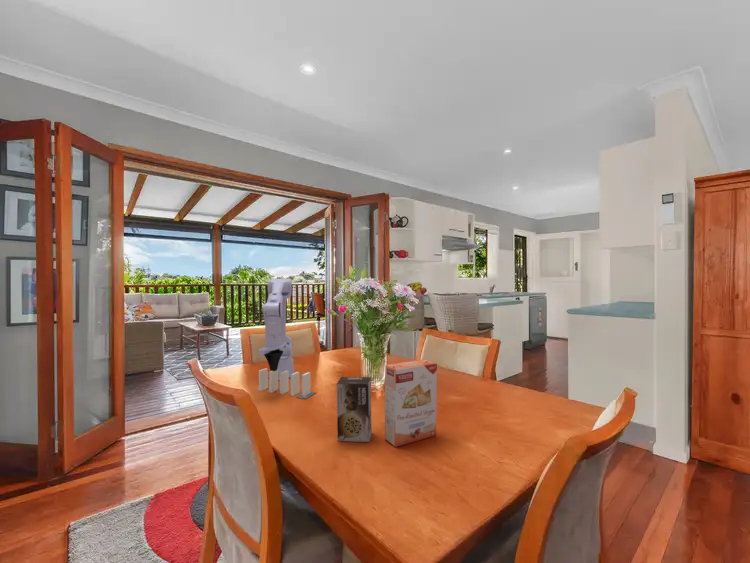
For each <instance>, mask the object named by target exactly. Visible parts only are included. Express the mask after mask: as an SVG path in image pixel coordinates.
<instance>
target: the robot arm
mask: <svg viewBox="0 0 750 563" xmlns="http://www.w3.org/2000/svg"><path fill="white" fill-rule="evenodd" d="M292 288H293V286H292V279H291V278H269V279H268V280H267V292H268V297H267V300H266V303H264V304H263V307H262V308H263V309H262V311H263V312H262V314H263V323H264V327H265V329H264V332H265V333H264V334H265V338H264V340H265V341H264V344H265V346H263V347H261V348H259V349H257V350H258V351H257V353H258V354H257V355H258V356H264V357H265V358H266V360H267V364H268V366H269V370H270V371H276V370H278V381H280V373H281V372H284V371H289V379H291V374H293V373H295V364H294V358H293V357H292V355H293V340H292V338H291V337H290V336H288V335H287V334H286V333H287V323H286V322H287V313H286V312H287V300H288V299H289V298H291V297H292V291H293V290H292ZM270 371H269V372H270ZM268 380H269V377H268Z"/></svg>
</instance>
